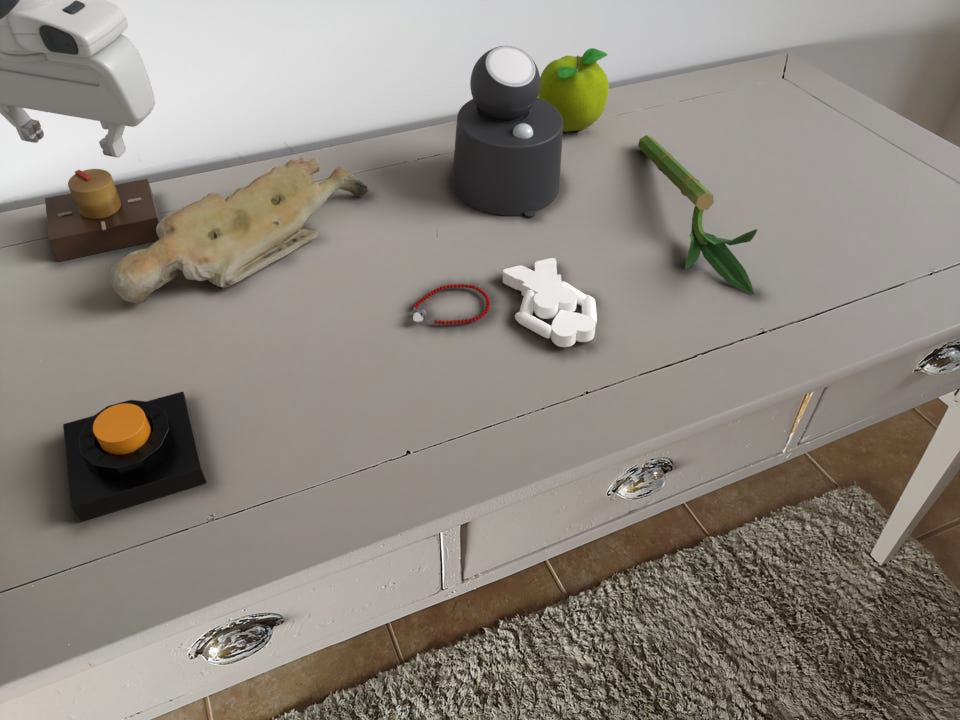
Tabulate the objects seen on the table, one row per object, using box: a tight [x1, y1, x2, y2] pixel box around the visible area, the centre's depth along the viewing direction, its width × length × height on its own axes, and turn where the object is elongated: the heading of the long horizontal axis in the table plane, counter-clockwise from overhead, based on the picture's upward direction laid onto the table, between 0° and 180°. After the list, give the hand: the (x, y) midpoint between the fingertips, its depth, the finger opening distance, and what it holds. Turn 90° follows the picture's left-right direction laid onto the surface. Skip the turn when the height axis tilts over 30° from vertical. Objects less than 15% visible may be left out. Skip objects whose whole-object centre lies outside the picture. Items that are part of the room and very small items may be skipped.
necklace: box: [412, 283, 491, 325], centre depth 81 cm, size 9×6×1 cm
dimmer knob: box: [67, 168, 121, 219], centre depth 84 cm, size 4×4×4 cm
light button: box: [93, 403, 151, 455], centre depth 63 cm, size 4×4×2 cm
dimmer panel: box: [44, 178, 161, 262], centre depth 87 cm, size 11×9×3 cm
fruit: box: [538, 47, 610, 133], centre depth 103 cm, size 9×9×10 cm
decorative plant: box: [637, 134, 758, 295], centre depth 92 cm, size 6×8×30 cm
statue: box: [109, 157, 369, 305], centre depth 84 cm, size 10×7×30 cm
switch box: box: [62, 391, 207, 523], centre depth 65 cm, size 10×9×4 cm
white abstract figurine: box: [502, 257, 598, 348], centre depth 81 cm, size 9×12×2 cm
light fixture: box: [451, 45, 564, 218], centre depth 91 cm, size 13×16×14 cm
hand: (74, 146), depth 80 cm, fingers open, 8 cm apart
